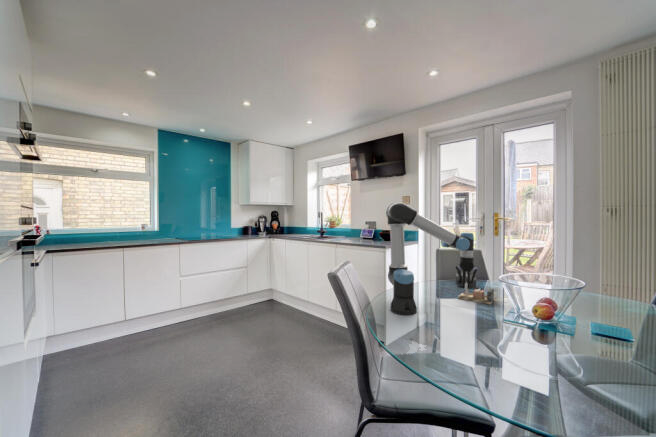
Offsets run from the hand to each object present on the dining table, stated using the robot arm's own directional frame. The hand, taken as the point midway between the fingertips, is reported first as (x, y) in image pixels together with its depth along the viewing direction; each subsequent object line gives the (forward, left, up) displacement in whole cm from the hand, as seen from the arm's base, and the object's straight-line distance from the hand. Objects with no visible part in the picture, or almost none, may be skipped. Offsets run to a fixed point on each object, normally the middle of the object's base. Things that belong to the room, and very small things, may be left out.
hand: (466, 293), depth 169 cm
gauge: (+7, 0, -2) cm, 7 cm away
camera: (-9, +28, -3) cm, 30 cm away
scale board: (+5, 0, -3) cm, 6 cm away
